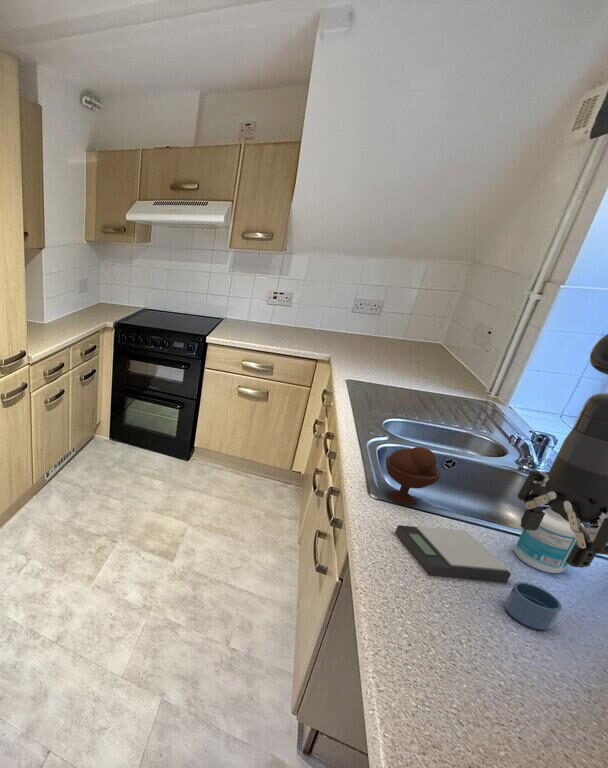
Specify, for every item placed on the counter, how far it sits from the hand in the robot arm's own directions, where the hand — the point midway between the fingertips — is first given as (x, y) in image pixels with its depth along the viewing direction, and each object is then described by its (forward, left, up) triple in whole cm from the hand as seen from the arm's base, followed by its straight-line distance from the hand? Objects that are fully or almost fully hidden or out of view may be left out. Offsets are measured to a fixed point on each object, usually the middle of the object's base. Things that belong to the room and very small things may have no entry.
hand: (549, 546), depth 68 cm
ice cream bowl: (+2, -33, -15) cm, 36 cm away
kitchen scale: (+4, -13, -14) cm, 19 cm away
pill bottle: (-14, -14, -15) cm, 25 cm away
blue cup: (0, +1, -14) cm, 14 cm away
